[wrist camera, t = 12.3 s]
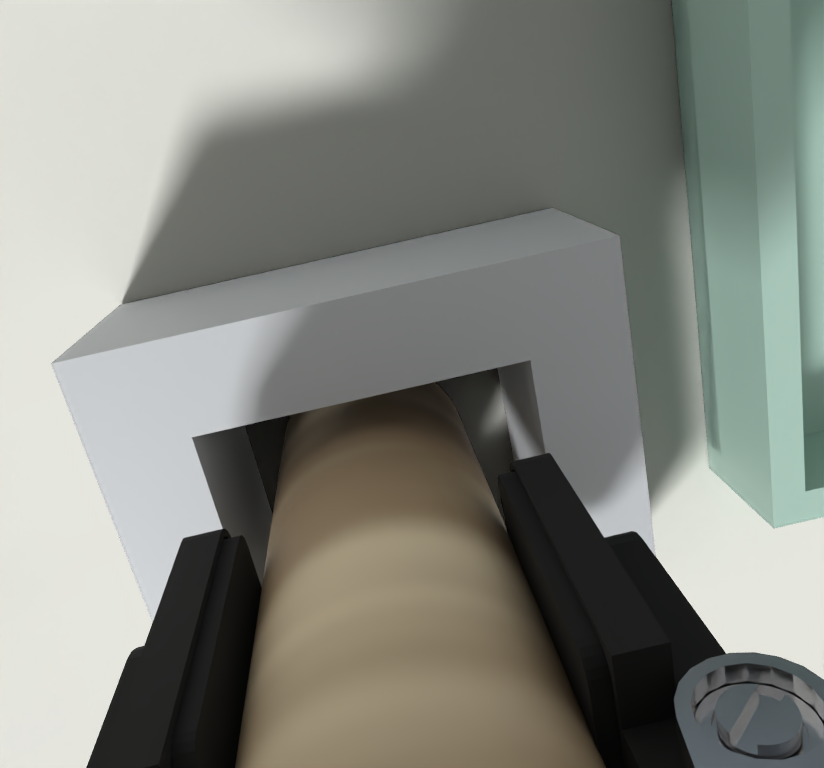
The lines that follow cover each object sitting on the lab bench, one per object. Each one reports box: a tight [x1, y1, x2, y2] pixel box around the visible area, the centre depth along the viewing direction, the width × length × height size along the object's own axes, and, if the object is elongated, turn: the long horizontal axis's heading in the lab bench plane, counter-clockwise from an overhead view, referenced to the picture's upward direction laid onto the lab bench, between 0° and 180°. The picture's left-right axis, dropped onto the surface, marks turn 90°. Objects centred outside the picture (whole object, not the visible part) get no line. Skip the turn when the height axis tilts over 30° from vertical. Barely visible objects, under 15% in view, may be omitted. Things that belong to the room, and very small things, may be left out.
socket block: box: [51, 208, 656, 622], centre depth 13 cm, size 8×8×4 cm
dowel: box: [235, 382, 606, 768], centre depth 9 cm, size 4×4×12 cm
